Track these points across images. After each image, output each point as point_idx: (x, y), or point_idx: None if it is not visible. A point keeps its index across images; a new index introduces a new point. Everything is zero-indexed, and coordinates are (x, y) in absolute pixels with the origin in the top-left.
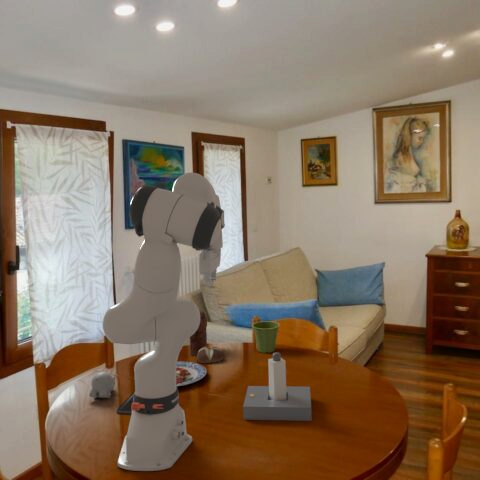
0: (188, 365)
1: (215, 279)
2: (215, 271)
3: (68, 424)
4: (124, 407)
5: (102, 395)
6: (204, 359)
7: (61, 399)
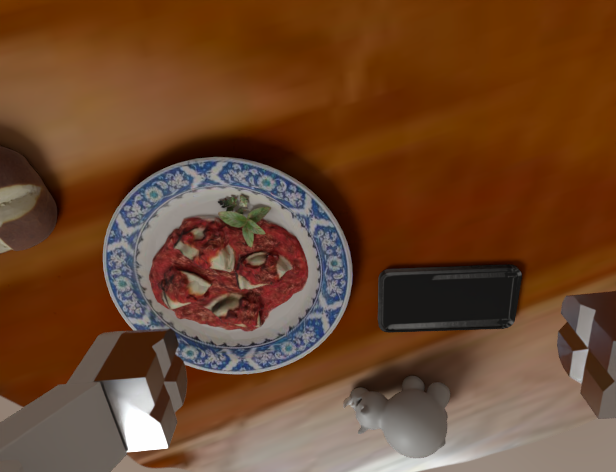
0: (130, 247)
1: (144, 342)
2: (6, 463)
3: (571, 396)
4: (485, 316)
5: (449, 392)
6: (51, 208)
7: (424, 467)
